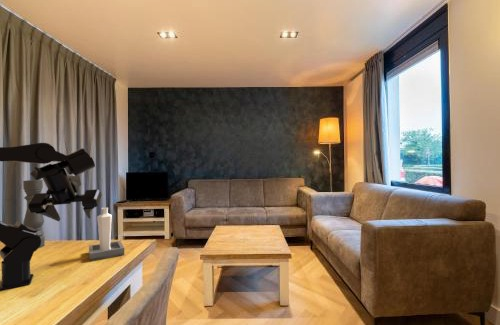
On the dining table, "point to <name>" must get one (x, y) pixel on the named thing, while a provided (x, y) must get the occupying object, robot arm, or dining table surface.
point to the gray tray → (106, 251)
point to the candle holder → (33, 218)
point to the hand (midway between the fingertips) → (74, 218)
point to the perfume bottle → (104, 229)
